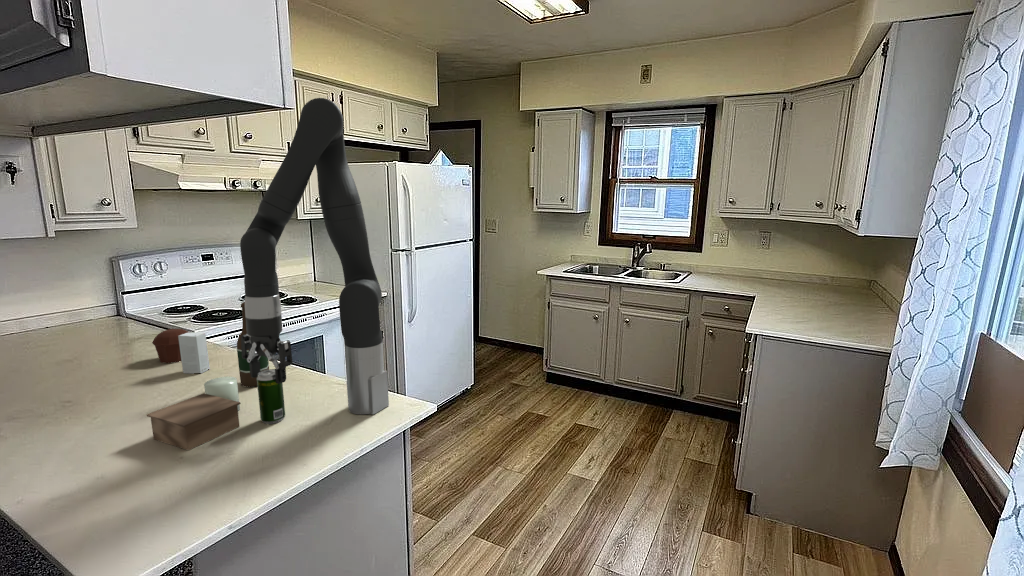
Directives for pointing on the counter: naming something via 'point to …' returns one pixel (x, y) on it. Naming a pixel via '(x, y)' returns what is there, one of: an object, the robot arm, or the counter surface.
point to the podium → (194, 421)
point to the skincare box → (194, 352)
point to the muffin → (168, 345)
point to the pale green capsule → (223, 388)
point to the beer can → (270, 397)
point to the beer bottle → (243, 363)
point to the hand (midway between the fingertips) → (268, 379)
